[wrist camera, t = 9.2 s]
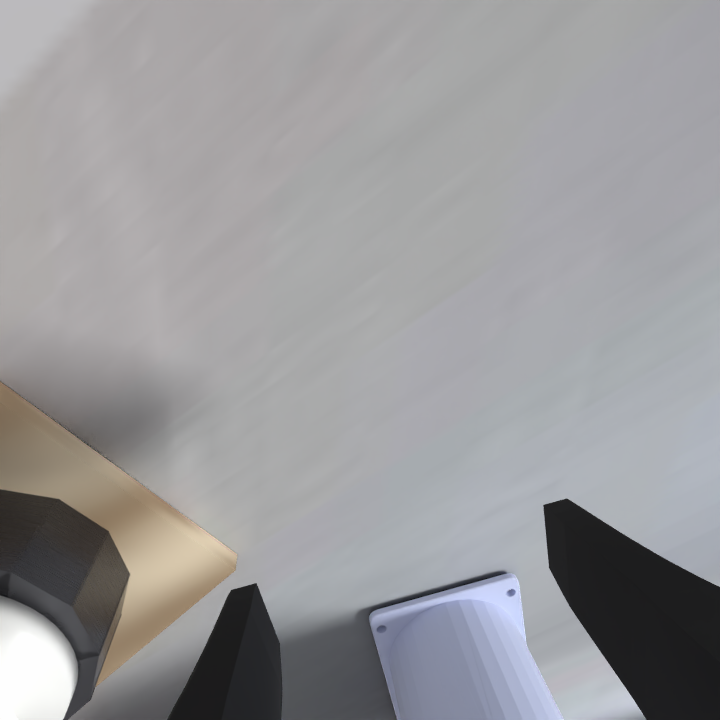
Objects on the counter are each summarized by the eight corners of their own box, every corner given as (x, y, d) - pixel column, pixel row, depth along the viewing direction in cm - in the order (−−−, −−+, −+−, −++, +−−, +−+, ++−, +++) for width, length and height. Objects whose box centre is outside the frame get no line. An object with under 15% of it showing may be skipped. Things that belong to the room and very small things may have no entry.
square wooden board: (237, 554, 24) (235, 570, 23) (55, 707, 26) (46, 728, 25) (-13, 372, 19) (-28, 382, 19) (-214, 573, 21) (-236, 592, 20)
